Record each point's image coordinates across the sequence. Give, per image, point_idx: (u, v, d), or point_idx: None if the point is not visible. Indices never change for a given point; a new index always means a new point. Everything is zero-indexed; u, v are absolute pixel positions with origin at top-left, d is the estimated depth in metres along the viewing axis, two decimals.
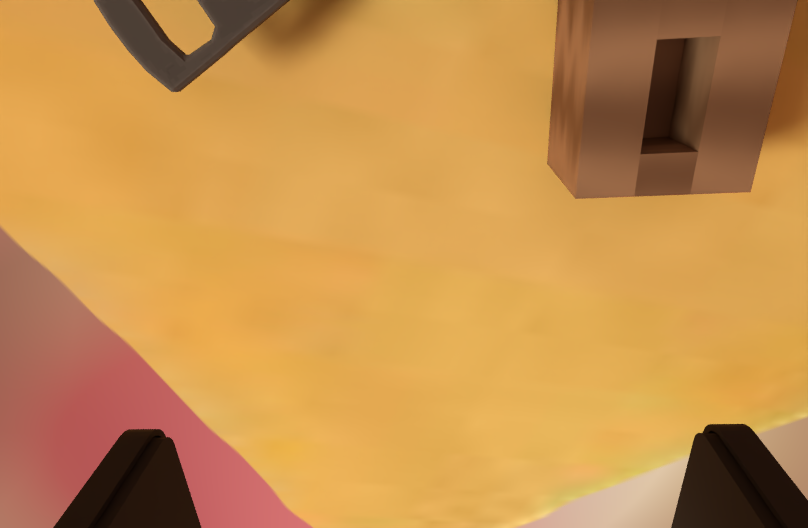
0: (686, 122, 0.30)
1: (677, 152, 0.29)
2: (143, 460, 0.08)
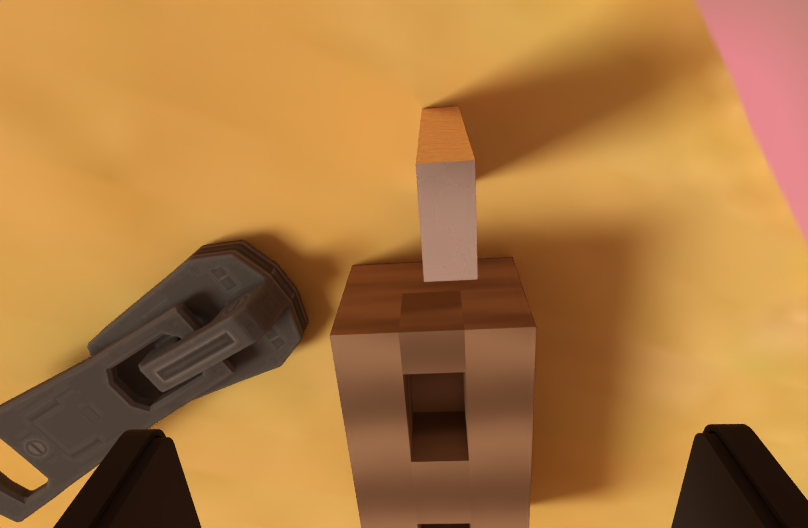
0: None
1: None
2: (143, 460, 0.08)
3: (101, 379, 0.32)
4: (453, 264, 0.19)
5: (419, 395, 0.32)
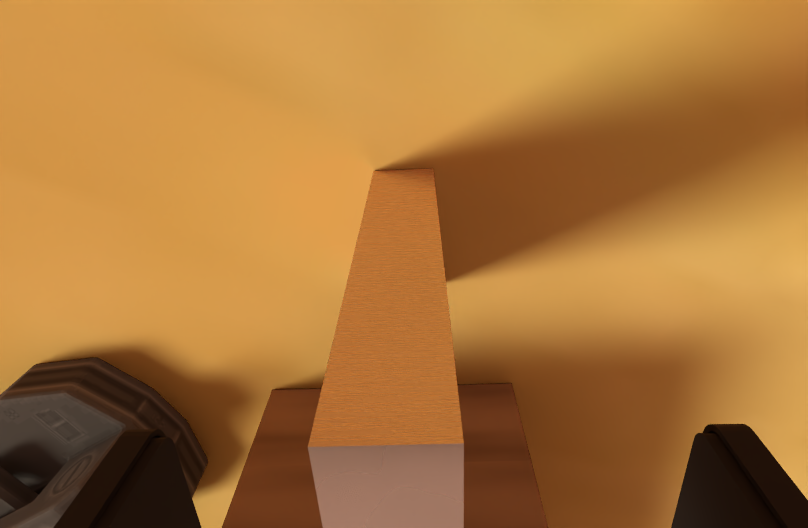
0: None
1: None
2: (143, 460, 0.08)
3: None
4: None
5: None
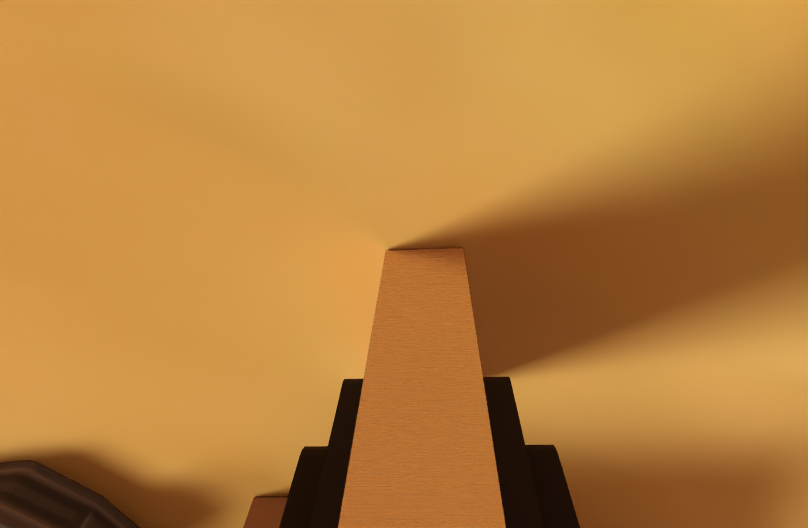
0: None
1: None
2: None
3: None
4: None
5: None
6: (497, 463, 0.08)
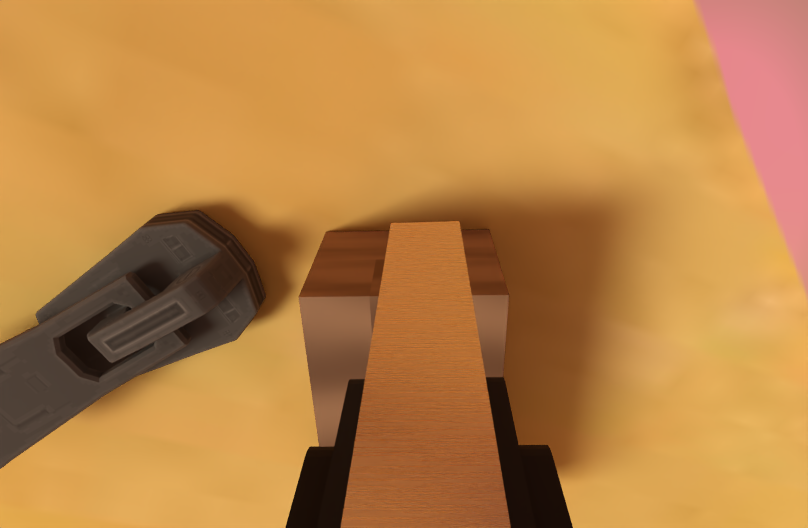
0: None
1: None
2: None
3: (48, 348, 0.31)
4: None
5: None
6: None
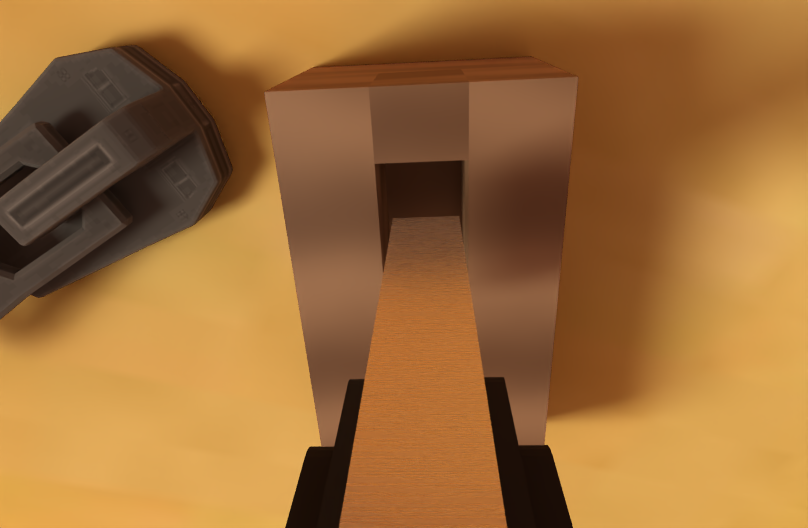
0: None
1: None
2: None
3: None
4: None
5: None
6: None
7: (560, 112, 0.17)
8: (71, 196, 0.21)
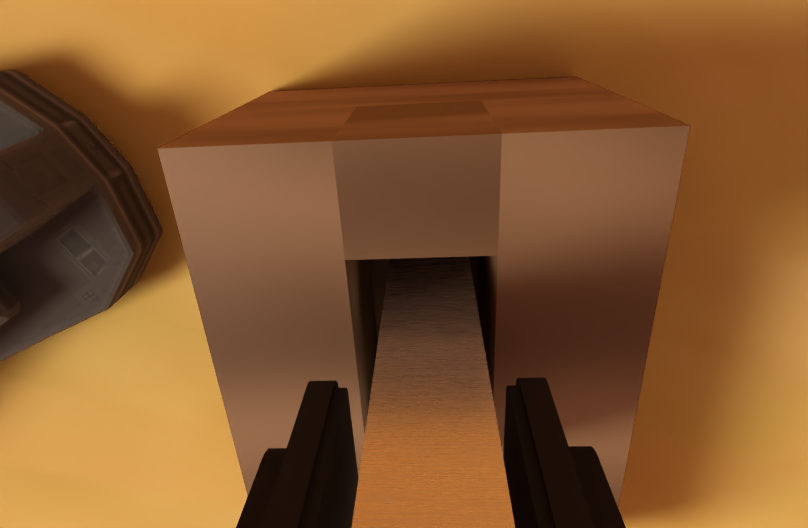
0: None
1: None
2: (335, 405, 0.09)
3: None
4: None
5: None
6: (542, 464, 0.08)
7: (654, 183, 0.10)
8: None
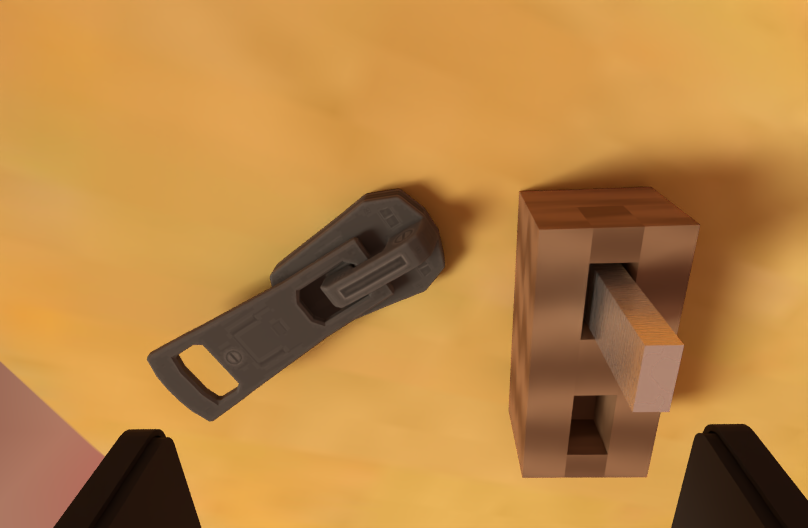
0: (602, 424, 0.42)
1: (593, 453, 0.41)
2: (143, 460, 0.08)
3: (291, 299, 0.40)
4: (654, 402, 0.29)
5: None
6: None
7: (689, 240, 0.33)
8: (379, 281, 0.38)
